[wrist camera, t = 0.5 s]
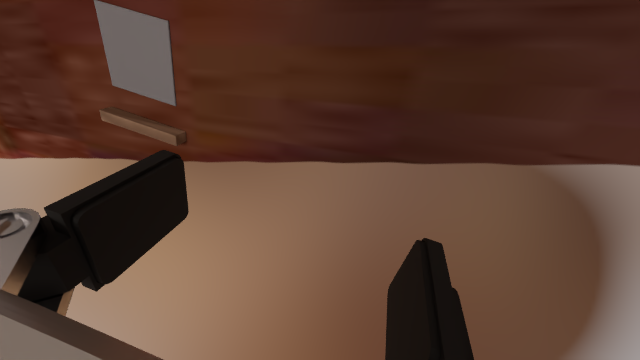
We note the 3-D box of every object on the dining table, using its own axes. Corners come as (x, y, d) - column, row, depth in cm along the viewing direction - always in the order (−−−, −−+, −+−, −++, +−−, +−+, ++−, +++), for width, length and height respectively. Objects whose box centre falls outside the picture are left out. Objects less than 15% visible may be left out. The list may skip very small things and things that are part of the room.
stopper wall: (112, 106, 48) (99, 109, 46) (185, 131, 47) (175, 136, 45) (114, 116, 49) (101, 120, 47) (186, 141, 48) (176, 146, 46)
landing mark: (95, -1, 39) (93, -1, 39) (168, 21, 38) (167, 21, 37) (113, 85, 46) (112, 85, 46) (176, 105, 44) (175, 105, 44)
